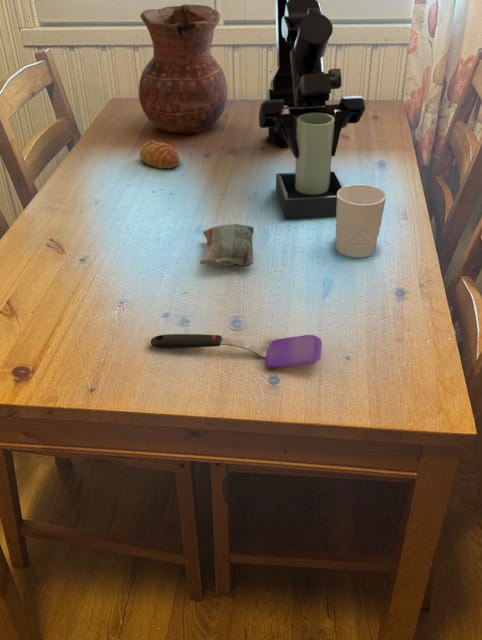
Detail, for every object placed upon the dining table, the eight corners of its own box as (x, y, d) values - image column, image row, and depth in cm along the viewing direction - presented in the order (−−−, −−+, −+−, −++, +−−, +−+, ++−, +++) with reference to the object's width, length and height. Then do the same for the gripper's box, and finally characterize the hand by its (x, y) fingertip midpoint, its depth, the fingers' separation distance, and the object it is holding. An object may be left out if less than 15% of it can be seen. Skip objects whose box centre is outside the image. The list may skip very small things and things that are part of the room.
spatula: (145, 358, 95) (143, 344, 94) (157, 330, 100) (156, 316, 99) (318, 376, 92) (320, 361, 90) (322, 346, 97) (323, 331, 95)
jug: (227, 140, 159) (225, 22, 143) (137, 141, 159) (125, 24, 144) (228, 108, 176) (226, 0, 161) (146, 109, 177) (137, 1, 161)
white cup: (382, 241, 120) (389, 187, 114) (374, 263, 114) (381, 207, 108) (337, 234, 122) (342, 181, 116) (327, 256, 116) (332, 201, 110)
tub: (275, 192, 136) (276, 173, 134) (334, 189, 137) (336, 170, 134) (284, 220, 127) (285, 200, 125) (348, 216, 128) (350, 196, 125)
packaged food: (200, 275, 112) (199, 249, 109) (203, 240, 121) (203, 215, 118) (253, 276, 112) (254, 249, 109) (253, 241, 121) (253, 215, 118)
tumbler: (300, 178, 133) (304, 110, 125) (332, 183, 131) (338, 114, 123) (290, 191, 129) (293, 122, 120) (323, 196, 127) (328, 127, 119)
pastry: (188, 164, 148) (187, 146, 146) (164, 173, 145) (163, 156, 142) (160, 152, 154) (158, 136, 151) (136, 161, 150) (134, 144, 148)
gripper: (261, 53, 118) (269, 140, 116) (368, 48, 119) (377, 134, 117) (255, 86, 129) (262, 166, 127) (353, 81, 130) (361, 160, 128)
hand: (315, 156), depth 125 cm, fingers closed on tumbler, 6 cm apart
